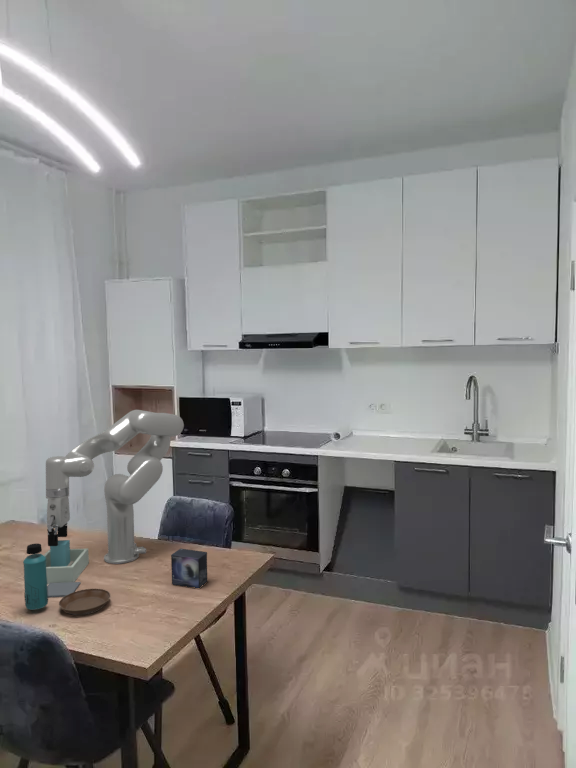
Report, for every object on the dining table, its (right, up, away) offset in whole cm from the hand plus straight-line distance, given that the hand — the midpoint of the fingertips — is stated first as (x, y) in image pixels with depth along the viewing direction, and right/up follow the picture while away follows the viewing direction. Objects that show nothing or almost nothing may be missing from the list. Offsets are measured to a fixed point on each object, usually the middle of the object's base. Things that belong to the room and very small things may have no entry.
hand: (57, 541), depth 195 cm
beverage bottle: (+5, -13, -27) cm, 30 cm away
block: (+1, -9, +1) cm, 9 cm away
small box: (+48, -12, -9) cm, 50 cm away
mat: (+6, -12, -13) cm, 19 cm away
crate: (+1, -12, +1) cm, 12 cm away
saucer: (+19, -13, -25) cm, 34 cm away
